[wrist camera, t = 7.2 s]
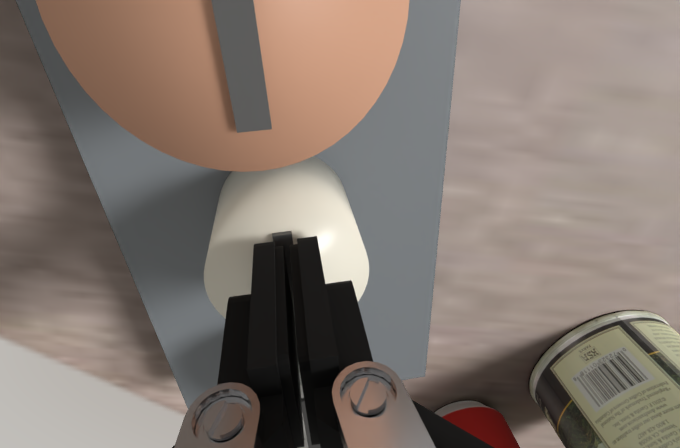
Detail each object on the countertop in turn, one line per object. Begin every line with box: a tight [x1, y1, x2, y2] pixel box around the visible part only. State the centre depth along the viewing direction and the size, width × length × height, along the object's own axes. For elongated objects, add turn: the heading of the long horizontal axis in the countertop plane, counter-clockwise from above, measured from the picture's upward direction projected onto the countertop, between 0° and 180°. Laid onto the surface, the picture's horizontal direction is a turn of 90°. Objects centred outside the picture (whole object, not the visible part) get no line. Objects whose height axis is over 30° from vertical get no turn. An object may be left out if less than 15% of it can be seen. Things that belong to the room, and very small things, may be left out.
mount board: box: [16, 0, 461, 409], centre depth 16 cm, size 22×12×3 cm, turn 3°
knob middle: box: [204, 156, 369, 319], centre depth 14 cm, size 5×5×7 cm
